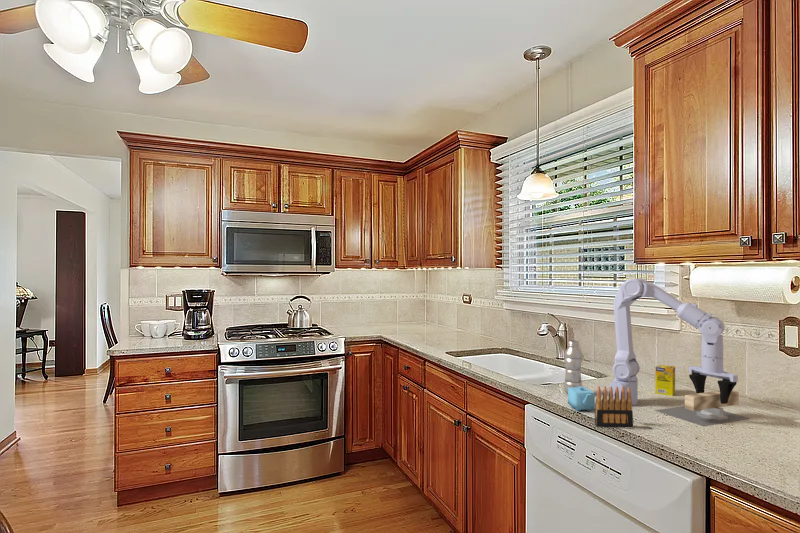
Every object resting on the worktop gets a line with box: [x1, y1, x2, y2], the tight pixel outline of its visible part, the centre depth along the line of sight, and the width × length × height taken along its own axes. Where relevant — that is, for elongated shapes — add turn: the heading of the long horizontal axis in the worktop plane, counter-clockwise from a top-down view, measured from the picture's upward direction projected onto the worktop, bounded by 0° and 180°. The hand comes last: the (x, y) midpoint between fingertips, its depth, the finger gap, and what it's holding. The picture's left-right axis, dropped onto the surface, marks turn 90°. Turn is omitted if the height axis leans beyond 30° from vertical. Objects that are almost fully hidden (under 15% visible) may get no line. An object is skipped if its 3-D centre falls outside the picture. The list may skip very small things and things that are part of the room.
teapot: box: [567, 386, 596, 412], centre depth 162 cm, size 12×6×8 cm, turn 3°
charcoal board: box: [654, 405, 752, 427], centre depth 154 cm, size 21×17×1 cm
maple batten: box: [684, 389, 740, 411], centre depth 151 cm, size 20×3×4 cm, turn 111°
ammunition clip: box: [594, 385, 634, 429], centre depth 145 cm, size 11×2×12 cm, turn 86°
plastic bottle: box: [563, 339, 584, 394], centre depth 182 cm, size 6×7×20 cm
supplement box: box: [654, 364, 676, 397], centre depth 181 cm, size 6×6×11 cm
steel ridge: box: [697, 407, 728, 422], centre depth 151 cm, size 4×7×4 cm, turn 21°
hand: (712, 400), depth 151 cm, fingers open, 7 cm apart
